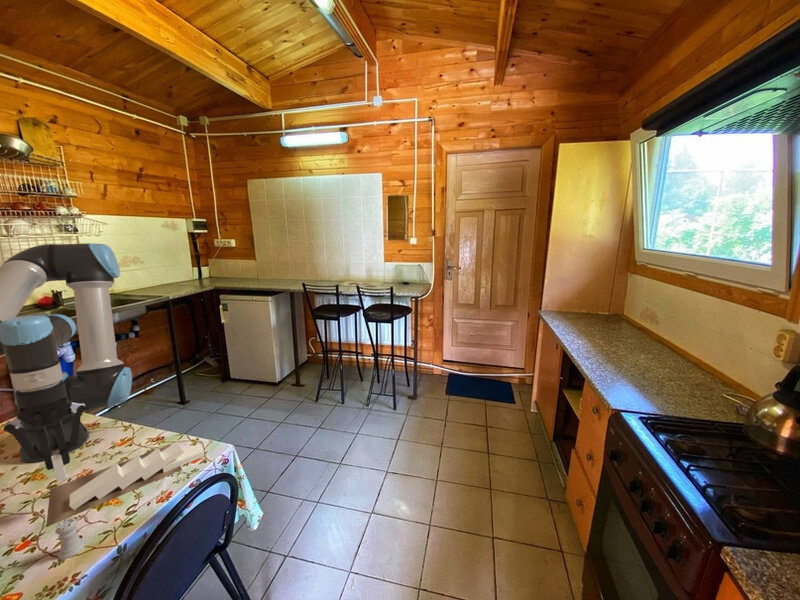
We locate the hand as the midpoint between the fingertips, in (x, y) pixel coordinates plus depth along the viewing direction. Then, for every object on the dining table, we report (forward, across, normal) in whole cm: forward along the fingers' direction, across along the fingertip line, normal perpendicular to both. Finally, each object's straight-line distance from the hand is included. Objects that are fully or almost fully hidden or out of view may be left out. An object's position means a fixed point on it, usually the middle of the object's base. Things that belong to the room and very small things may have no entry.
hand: (61, 477), depth 77 cm
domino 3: (+7, +10, 0) cm, 12 cm away
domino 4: (+7, +14, 0) cm, 16 cm away
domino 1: (+7, +1, 0) cm, 7 cm away
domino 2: (+7, +5, 0) cm, 9 cm away
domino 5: (+7, +19, 0) cm, 20 cm away
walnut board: (+9, +10, +4) cm, 14 cm away
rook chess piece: (+10, +1, -16) cm, 19 cm away
